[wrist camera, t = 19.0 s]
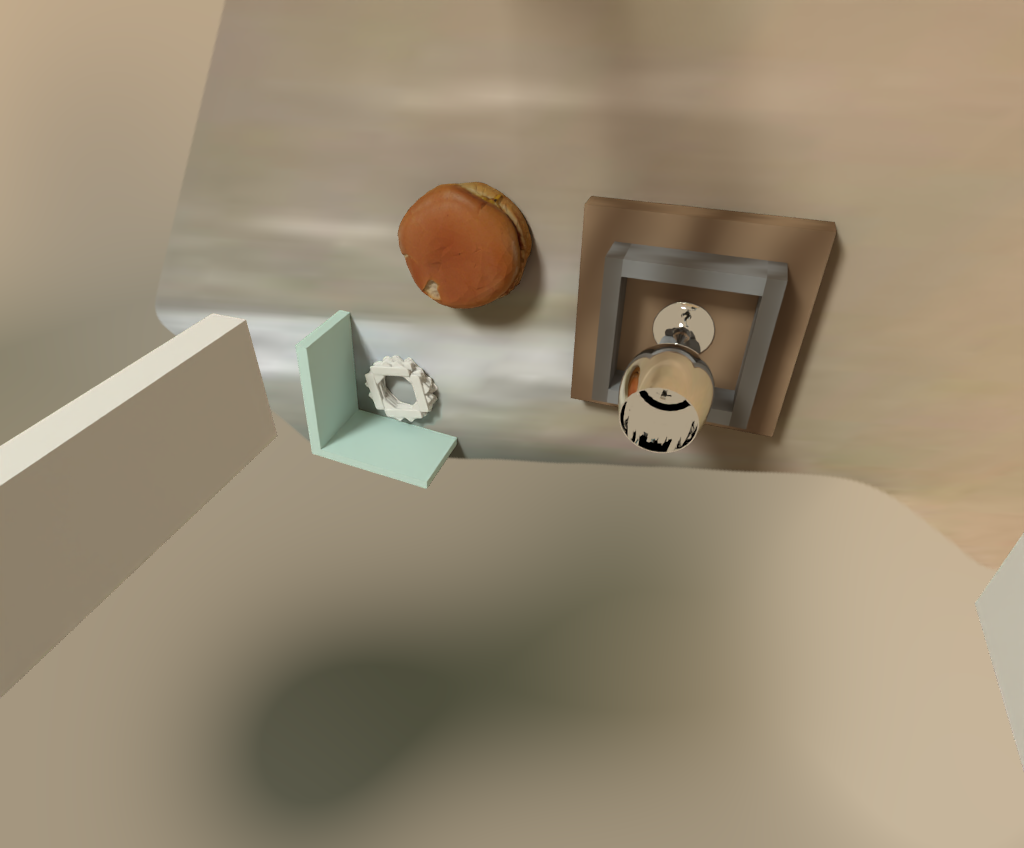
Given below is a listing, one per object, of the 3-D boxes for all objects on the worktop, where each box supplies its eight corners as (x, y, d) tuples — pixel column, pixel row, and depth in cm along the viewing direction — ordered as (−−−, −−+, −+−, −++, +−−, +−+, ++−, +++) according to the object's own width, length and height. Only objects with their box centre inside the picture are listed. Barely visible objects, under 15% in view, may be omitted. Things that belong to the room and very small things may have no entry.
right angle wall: (459, 441, 64) (426, 489, 58) (352, 410, 66) (312, 453, 61) (462, 337, 56) (425, 380, 51) (342, 307, 59) (295, 345, 53)
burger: (544, 200, 46) (524, 221, 43) (518, 309, 52) (498, 335, 49) (423, 158, 48) (393, 174, 44) (410, 269, 54) (383, 291, 50)
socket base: (834, 222, 41) (839, 249, 37) (772, 422, 50) (771, 460, 47) (591, 196, 45) (573, 218, 41) (576, 385, 55) (561, 417, 51)
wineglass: (714, 371, 47) (697, 470, 38) (638, 355, 49) (604, 448, 40) (733, 300, 44) (719, 390, 35) (650, 286, 45) (616, 369, 36)
